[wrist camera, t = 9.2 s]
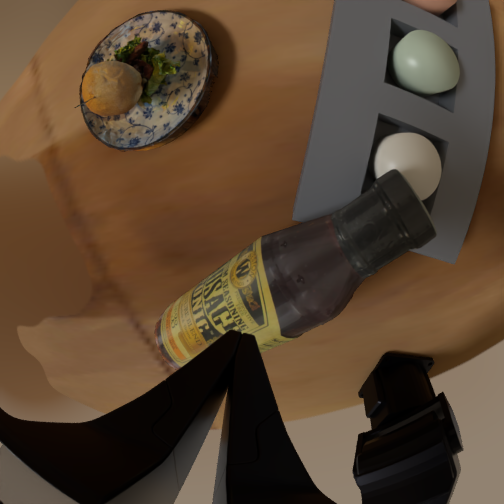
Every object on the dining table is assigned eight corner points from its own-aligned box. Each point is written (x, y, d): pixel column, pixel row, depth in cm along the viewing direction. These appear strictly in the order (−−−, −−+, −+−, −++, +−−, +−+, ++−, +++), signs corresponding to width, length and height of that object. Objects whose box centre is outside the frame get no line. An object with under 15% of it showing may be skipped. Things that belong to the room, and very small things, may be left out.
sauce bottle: (153, 299, 22) (358, 122, 12) (211, 321, 25) (403, 189, 16) (147, 373, 17) (431, 198, 8) (215, 387, 21) (455, 265, 11)
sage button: (440, 58, 12) (460, 48, 9) (435, 105, 13) (457, 101, 10) (389, 35, 12) (404, 19, 9) (383, 83, 13) (399, 73, 11)
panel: (469, -1, 8) (485, -12, 6) (436, 247, 18) (454, 264, 15) (341, -55, 9) (345, -75, 6) (293, 207, 19) (292, 219, 16)
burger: (249, 43, 15) (223, -5, 8) (170, 176, 20) (111, 197, 13) (132, 7, 14) (80, -22, 7) (73, 120, 19) (11, 124, 12)
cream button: (426, 145, 15) (447, 147, 12) (413, 199, 16) (431, 210, 14) (375, 125, 15) (389, 122, 12) (361, 182, 17) (373, 190, 14)
